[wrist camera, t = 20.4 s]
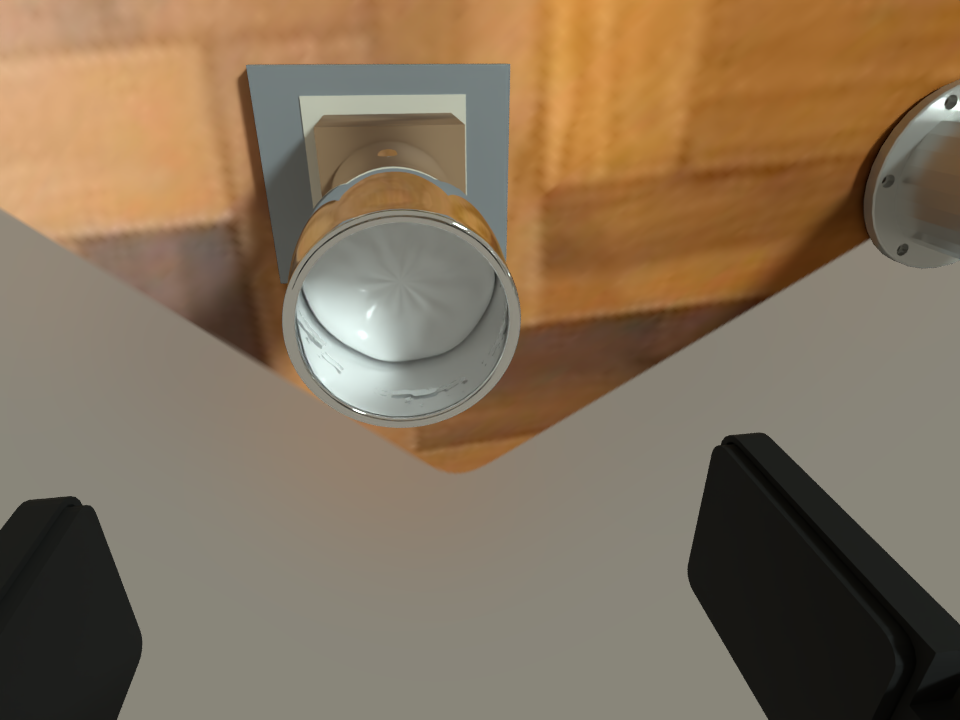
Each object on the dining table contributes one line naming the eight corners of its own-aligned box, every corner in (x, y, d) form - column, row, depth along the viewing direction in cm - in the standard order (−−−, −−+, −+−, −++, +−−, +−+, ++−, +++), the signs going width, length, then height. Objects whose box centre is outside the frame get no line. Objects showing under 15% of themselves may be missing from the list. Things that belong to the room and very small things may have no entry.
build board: (506, 63, 34) (510, 64, 33) (502, 267, 40) (506, 272, 39) (249, 64, 32) (245, 64, 31) (282, 278, 38) (280, 283, 37)
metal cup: (402, 298, 32) (421, 472, 19) (290, 213, 29) (220, 348, 16) (490, 197, 30) (578, 311, 17) (379, 97, 28) (383, 141, 14)
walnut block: (451, 112, 34) (464, 124, 29) (453, 235, 37) (466, 266, 32) (323, 114, 33) (313, 127, 28) (337, 240, 36) (331, 273, 31)
